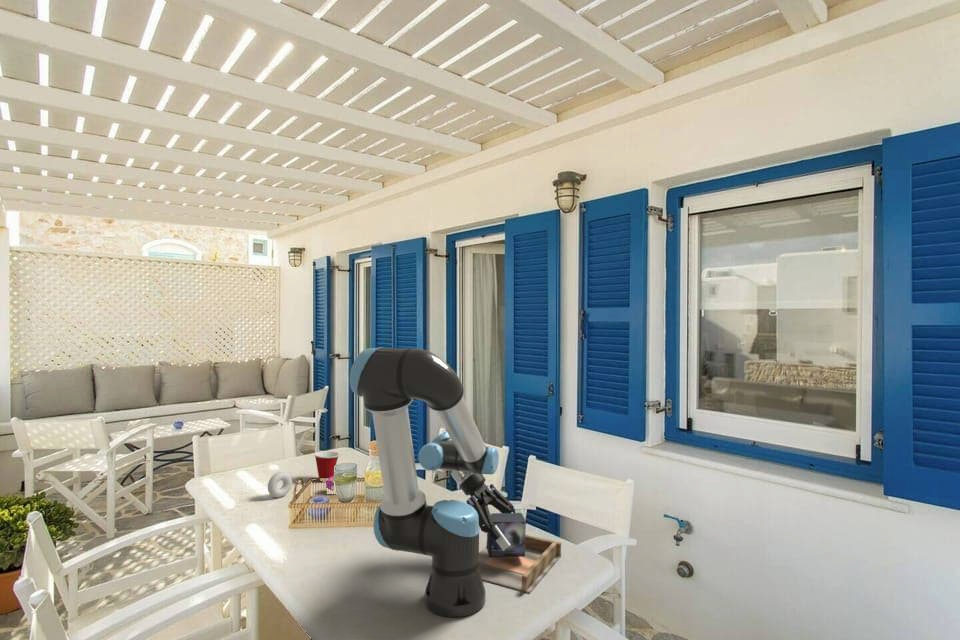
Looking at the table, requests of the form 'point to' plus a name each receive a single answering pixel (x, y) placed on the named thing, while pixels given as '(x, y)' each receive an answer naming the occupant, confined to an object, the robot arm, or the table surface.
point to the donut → (285, 488)
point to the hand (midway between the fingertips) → (515, 540)
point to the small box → (508, 535)
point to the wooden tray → (521, 565)
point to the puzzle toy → (330, 484)
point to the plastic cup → (326, 463)
